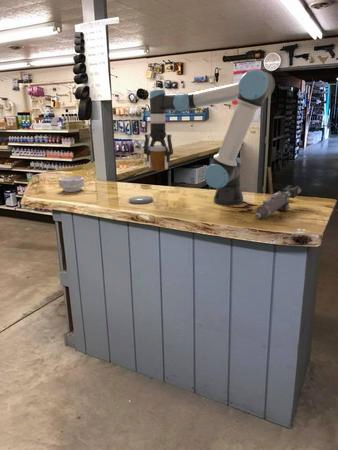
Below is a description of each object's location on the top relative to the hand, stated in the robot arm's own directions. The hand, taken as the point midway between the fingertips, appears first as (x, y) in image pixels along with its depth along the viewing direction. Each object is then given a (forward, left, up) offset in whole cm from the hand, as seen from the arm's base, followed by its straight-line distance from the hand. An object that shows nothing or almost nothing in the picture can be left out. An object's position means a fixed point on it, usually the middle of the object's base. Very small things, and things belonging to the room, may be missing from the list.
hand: (158, 168), depth 191 cm
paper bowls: (+65, -16, -18) cm, 69 cm away
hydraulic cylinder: (-60, +7, -18) cm, 63 cm away
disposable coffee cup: (0, 0, -1) cm, 1 cm away
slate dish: (+11, +1, -18) cm, 21 cm away
